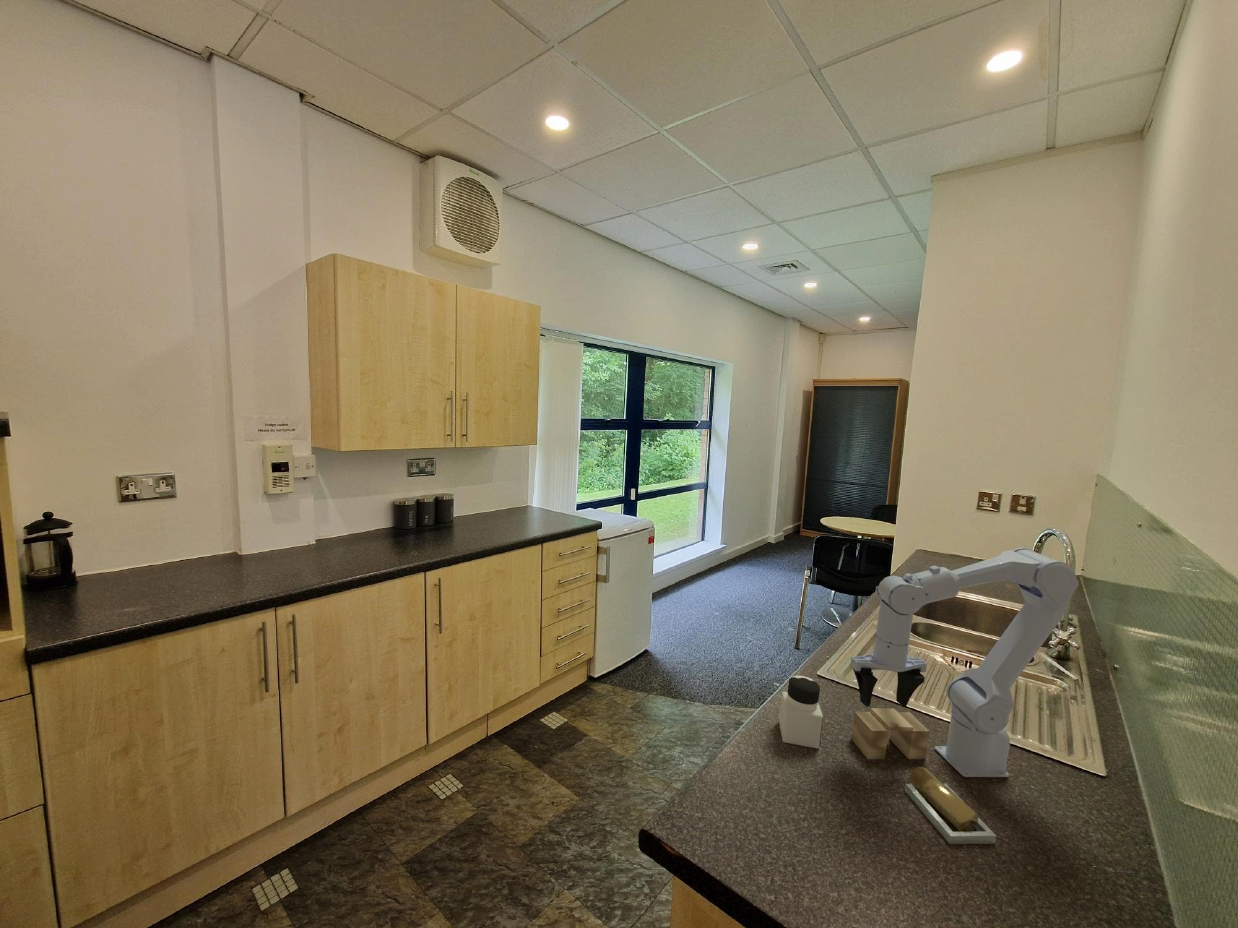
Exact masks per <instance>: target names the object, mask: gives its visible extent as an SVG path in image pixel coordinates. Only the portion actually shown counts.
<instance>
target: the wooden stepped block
mask: <svg viewBox="0 0 1238 928" xmlns="http://www.w3.org/2000/svg"><path fill="white" fill-rule="evenodd" d="M889 732H890V733H889ZM889 734H890V735H889ZM929 735H930V730H929V729H928V728H927V727H925V725H924V724H922V722H920V721H919V720H918V719H917V718H916V717H915V716H914V715H913V714H912V713H911V712H909V711H904V712H903V711H897V710H896V709H895V708H892V707H891V708H888V707H887V708H883V707H882V708H881V707H879V708H878V707H877V708H876V707H873V708H870V711H854V715H853V722H852V729H851V736H850V737H851V740H852V741H853V742H854V744H855V745H856V746H857V748H858V749H859V750H860V751H861V753H863V755H864V756H865V757H866V759H867V760H885V759H886V752H887V745H888V738H889V740H890V741H891V742H892V743H893V744H894V745H895V746H896V747H897V748H898V749H899V750H900V752H902V754H903V755H904V756H905V757H906V758H907V759H908V760H926V756H927V751H928V744H929V738H930V736H929Z"/></svg>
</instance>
